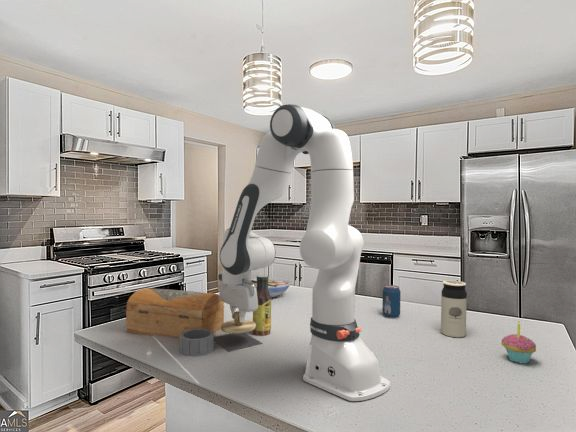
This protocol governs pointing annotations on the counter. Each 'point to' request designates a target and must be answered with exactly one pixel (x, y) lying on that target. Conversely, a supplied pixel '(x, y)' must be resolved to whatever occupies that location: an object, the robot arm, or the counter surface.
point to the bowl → (196, 342)
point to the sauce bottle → (262, 308)
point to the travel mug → (453, 309)
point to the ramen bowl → (275, 285)
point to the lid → (238, 325)
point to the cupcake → (518, 347)
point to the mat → (236, 341)
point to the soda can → (391, 301)
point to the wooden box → (173, 312)
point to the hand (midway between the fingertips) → (238, 320)
